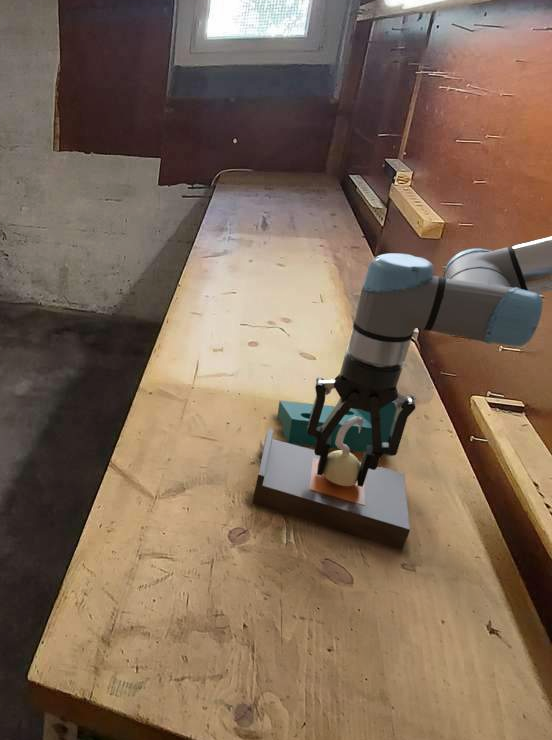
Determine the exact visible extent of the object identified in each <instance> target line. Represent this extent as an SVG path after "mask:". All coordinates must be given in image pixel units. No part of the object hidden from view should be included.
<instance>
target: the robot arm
mask: <svg viewBox="0 0 552 740" xmlns="http://www.w3.org/2000/svg"><path fill="white" fill-rule="evenodd" d="M434 269H435V268H434V264H433V262H431V261H430V260H428V259H426V258H425V257H420V256H414V255H413V254H408V253H397V252H396V253H395V252H393V253H391V252H390V253H383V254H379V255H377V256H376V257H374V258H373V259H372V260H371V261H370V263H369V266H368V269H367V271H366V275H365V278H364V281H363V283H362V287H361V291H360V294H359V299H358V304H357V307H356V312H355V315H354V319H353V324H352V327H351V331H350V335H349V338H348V342H347V346H346V349H347V350H346V351H345V352H344V357H343V361H342V364H341V368H340V372H339V374H338V375H337V376H336V377H335V378H334V379H328V380H327V379H324V378H323V377H317V378H316V380H315V385H314V387H315V394H316V395H315V398H314V402H313V404H314V405H313V408H312V412H311V415H310V419H309V423H308V429H307V433H308V435H310V436H315V437H316V438H317V441H316V445H315V447H314V450H315V455H318V456H320V459H319V463H318V470H317V474H318V475H322V474H323V471H324V467H325V463H326V460H327V456H328V454H329V452H330V449H331V448H330V445H331V436H330V435H331V433H332V432H333V431H334V429H335V428H336V426H337V425H338V424H339V422H340V421H341V420H342V418H343V417H344V415H345V414H347V413H348V411H349V410H350V409H351V408H352V409H361V410H363V411H366V412H370V416H371V429H372V442H373V446H371V445H367V446H366V449H365V452H363V455H362V460H361V461H360V462H361V465H360V473H359V477H358V480H357V481H358V486H362V487H363V485H364V481H365V478H366V475H367V472H368V469H372V470H375V469H376V468H377V467H379V463H380V461H381V460H380V459H382V458H383V456H384V455H383V454H389V455H391V456H390V457H393V456H396V455H397V454H398V450H399V448H400V445H401V441H402V438H403V435H404V431H405V427H406V424H407V422H408V418H409V416H410V415H412V413H413V412H414V411H415V410H416V404H415V398H414V396H411V395H406V396H405V395H403V394H401V393H399V392H398V389H397V387H398V383H399V380H400V377H401V373H402V371H403V368H404V364H403V363H404V362H405V361H406V358H407V356H408V351H409V349H410V345H411V341H412V339H413V335H414V331H415V330H416V329H418V330H424V331H428V332H434V333H439V334H444V335H447V336H448V335H449V336H453V337H459V338H464V339H469V340H474V341H479V342H483V343H486V344H488V345H501V346H509V347H515V348H517V347H522V346H525V345H526V344H528V343H529V342H530V341H531V339H532V338H533V337H534V335H535V333H536V331H537V328H538V326H539V322H540V320H541V316H542V312H543V305H544V304H543V303H544V302H543V298H542V296H541V295H540V294H542V293H548V292H552V236H548V237H545V238H540V239H536V240H532V241H529V242H524V243H521V244H516V245H512V246H507V247H503V248H498V249H495V250H490V249H488V248H487V249H486V248H477V247H476V248H469V249H465V250H463V251H460V252H458V253H457V254H455V255H454V256H452V258H450V260H449V261H448V262H447V264H446V266H445V269H444V271H443V274H442V277H441V276H436V275H434ZM334 389H335V391H336V392H337V394H338V396H339V399H338V402H337V403H336V405H334V406H335V408H334V409H333V411H332V412H331V413H330V415H329V416H328V418H327V419H326V421H325V422H324V423H323V425H322V426H321V428H320V427H318V423H319V419H320V416H321V413H322V409H323V406H324V405H325V402H326V396H328V395H330V393H331V392H332V390H334ZM393 401H395V402H396V403H395V405H396V409H397V410H396V413H395V416H394V420H393V423H392V427H391V430H390V434H389V437H388V441H387V442H382V441H381V426H380V412H379V409H381V408H383V407H384V406H386V405H388V404H389V403H391V402H393ZM389 455H388V456H389Z"/></svg>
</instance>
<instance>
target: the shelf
mask: <svg viewBox="0 0 552 740" xmlns="http://www.w3.org/2000/svg"><path fill="white" fill-rule="evenodd" d="M273 436H274V429H271V428H267V432H266V436H265V440H264V446H263V450H262V455H261V459H260V465H259V469H258V473H257V478H256V482H255V487H254V492H253V495H252V501H251V504H252V505H255V506H259V507H261V508H265V509H267V510H271V511H274V512H277V513H280V514H283V515H287V516H289V517H293V518H297V519H300V520H302V521H306V522H309V523H312V524H315V525H319V526H322V527H325V528H329V529H331V530H335V531H338V532H341V533H345V534H346V535H347V534H348V535H351V536H354V537H357V538H361V539H363V540H366V541H369V542H373V543H376V544H379V545H383V546H385V547H388V548H392V549H396V550H399V551H403V549H404V547H405V545H406V542H407V540H408V537H409V534H410V532H411V524H410V514H409V508H408V507H409V506H408V504H409V503H408V498H407V497H408V496H407V489H406V479H405V472H400V471H396V470H392V469H389V468H384V467H381V466H377V468H376V469H375V470H372V469H368V472H367V475H366V478H365V481H364V485H363V487H362V486H358V481H357V482H356V484H354V485H352V486H342V485H338V484H335V483H333V482H331V481H329V480H328V479H327V478H326V477H325V476H324V475H323V474H322V475H318V474H317V470H318V463H319V459H320V456H318V455H315V449H312V448H308V447H305V446H302V445H298V444H289V443H288V442H287V441H286V442H285V441H281V440H279V439H274V438H273ZM361 462H362V461H359V463H360V465H361Z"/></svg>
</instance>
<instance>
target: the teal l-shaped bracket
mask: <svg viewBox="0 0 552 740" xmlns="http://www.w3.org/2000/svg"><path fill="white" fill-rule="evenodd" d="M395 403H396V402H395V401H393V402H391V403H389V404H388V405H386V406H384V407H383V408H381V409H379V412H380V426H381V441H382V442H387V441H388V437H389V434H390V430H391V427H392V423H393V420H394V416H395V413H396V410H397V409H396V405H395ZM313 405H314V403H307V402H306V403H305V402H297V401H287V400H279V402H278V408H277V416H276V417H277V418H278V420H279V422H280V424H281V425H282V431H281V434H282V435H283V437H284V439H285V440H286V443H289V444H293V445H297V446H307V447H314V448H315V445H316V441H317V438H316V437H315V436H310V435H308V433H307V429H308V423H309V419H310V415H311V412H312V408H313ZM335 406H336V405H326V404H324V406H323V409H322V413H321V416H320V419H319V423H318V427H320V428H321V426H322V425H323V423H324V422H325V421H326V419H327V418H328V416H329V415H330V413H331V412H332V411H333V409H334V408H335ZM355 416H357V417H361V418H362V420H363V426H362V428H361V430H360V433H359V427H358V424H357V423H356V424H354V425H352V426H351V427H350V428H349V429H348V430H347V432H346V434H345V437H344V440H343V444H346V445H347V446H348V447H349V449H350V452H355V453H364V452H365V449H366V446H367V445H371V446H373V442H372V429H371V416H370V412H366V411H363V410H361V409H352V408H351V409H350V410H349V411H348V413H347V414H345V415H344V417H343V418H342V420H341V421H340V422H339V424H338V425H337V426H336V428H335V429H334V431H333V432H332V433H331V435H330V436H331V445H330V449H333V450H341V449H339V448H337V446H336V444H335V441H336V437H337V433H338V431H339V429H340V427H341V426H342V424H343V423H345V422H346V421H347V420H349V419H350V418H352V417H355ZM382 456H389V457H392V456H391V455H389V454H383V455H382Z"/></svg>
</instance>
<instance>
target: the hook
mask: <svg viewBox="0 0 552 740" xmlns="http://www.w3.org/2000/svg"><path fill="white" fill-rule="evenodd" d="M356 423H357V424H358V427H359V433H360V430H361V428H362V426H363V420H362V418H361V417H357V416H355V417H352V418H350V419H349V420H347V421H346V422H345V423H343V424H342V426H341V427H340V429H339V431H338V433H337V437H336V441H335V444H336V446H337V448H339V449H341V450H339V449H335V450H334V451H331V452H330V453H328V456H327V460H326V463H325V467H324V471H323V475H324V476H325V477H326V478H327V479H328V480H329V481H331V482H333V483H335V484H338V485H342V486H352V485H354V484H356V482H357V480H358V477H359V473H360V463H359V462H360V461H359V459H358V457H356V456H355V454H353V453H351V451H350V449H349V447H348V446H347V445H346V444H343V440H344V437H345V434H346V432H347V430H348V429H349V428H350V427H351V426H352V425H354V424H356Z"/></svg>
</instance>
